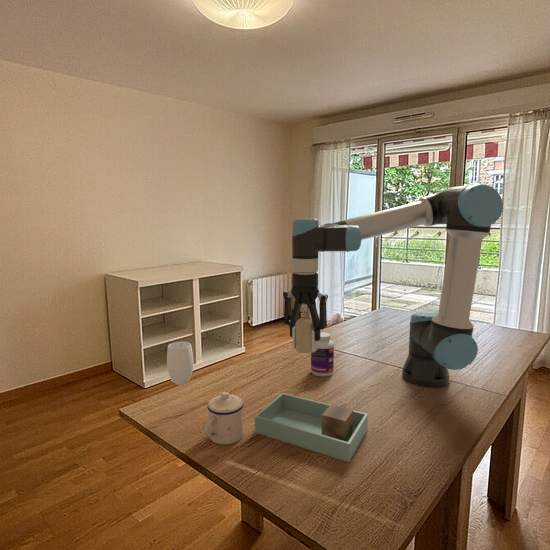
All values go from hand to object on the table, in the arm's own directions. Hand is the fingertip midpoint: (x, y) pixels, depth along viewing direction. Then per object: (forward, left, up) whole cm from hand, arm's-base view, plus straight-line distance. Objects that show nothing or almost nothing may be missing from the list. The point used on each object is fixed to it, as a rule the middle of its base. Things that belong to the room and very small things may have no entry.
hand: (304, 349), depth 115 cm
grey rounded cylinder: (+27, +24, -17) cm, 40 cm away
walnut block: (-16, +15, -16) cm, 27 cm away
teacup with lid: (+10, +28, -17) cm, 34 cm away
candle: (0, 0, -1) cm, 1 cm away
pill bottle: (+3, -22, -17) cm, 28 cm away
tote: (-9, +15, -17) cm, 24 cm away
